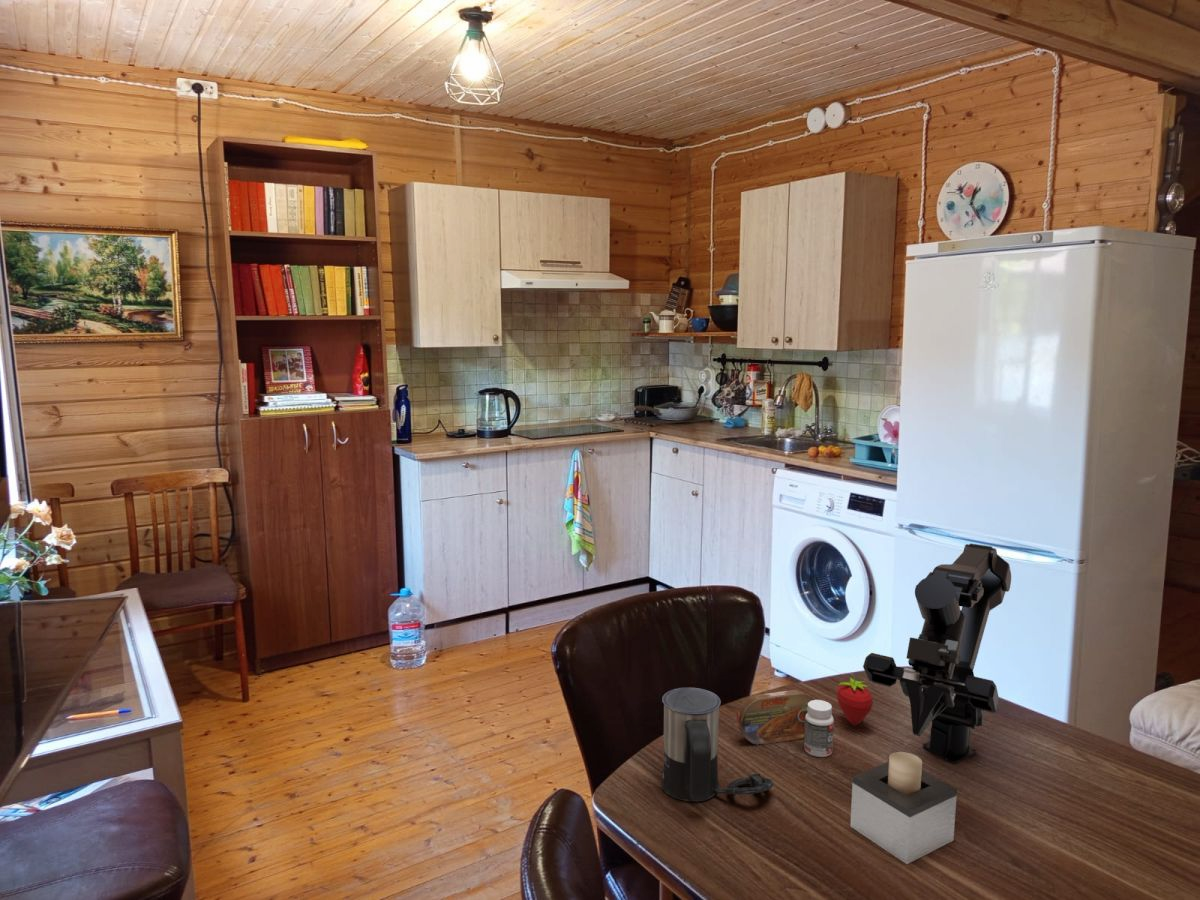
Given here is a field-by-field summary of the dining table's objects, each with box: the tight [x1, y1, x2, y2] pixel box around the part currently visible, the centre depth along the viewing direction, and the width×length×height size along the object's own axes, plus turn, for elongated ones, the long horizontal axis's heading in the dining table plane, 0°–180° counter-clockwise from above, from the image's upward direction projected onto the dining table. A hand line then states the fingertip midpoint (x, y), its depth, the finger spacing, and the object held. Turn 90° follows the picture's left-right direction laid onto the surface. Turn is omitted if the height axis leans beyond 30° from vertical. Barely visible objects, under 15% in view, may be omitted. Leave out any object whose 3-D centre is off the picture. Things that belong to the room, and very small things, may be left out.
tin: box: [736, 689, 815, 745], centre depth 147 cm, size 15×3×8 cm, turn 104°
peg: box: [888, 751, 923, 796], centre depth 120 cm, size 4×4×8 cm
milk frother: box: [661, 687, 774, 802], centre depth 131 cm, size 14×16×15 cm
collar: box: [850, 761, 958, 865], centre depth 120 cm, size 10×10×8 cm
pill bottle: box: [804, 699, 835, 758], centre depth 143 cm, size 5×5×8 cm
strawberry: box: [836, 673, 874, 727], centre depth 152 cm, size 6×8×10 cm
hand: (915, 734), depth 123 cm, fingers closed
